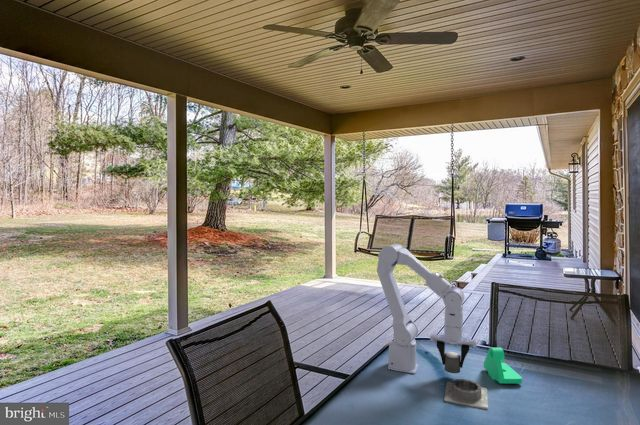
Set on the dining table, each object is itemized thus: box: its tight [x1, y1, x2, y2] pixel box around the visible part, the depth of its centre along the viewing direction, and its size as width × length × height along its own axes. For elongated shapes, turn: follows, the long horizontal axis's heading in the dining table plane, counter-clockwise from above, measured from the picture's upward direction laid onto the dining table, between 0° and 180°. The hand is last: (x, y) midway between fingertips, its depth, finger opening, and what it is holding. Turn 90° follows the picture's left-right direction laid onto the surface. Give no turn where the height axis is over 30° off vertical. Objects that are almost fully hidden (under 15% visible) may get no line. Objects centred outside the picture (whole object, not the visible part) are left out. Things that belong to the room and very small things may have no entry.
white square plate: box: [443, 378, 489, 410], centre depth 118 cm, size 12×12×3 cm
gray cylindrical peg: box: [444, 351, 461, 374], centre depth 130 cm, size 5×5×5 cm
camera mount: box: [483, 347, 523, 384], centre depth 130 cm, size 12×8×10 cm, turn 0°
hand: (452, 365), depth 130 cm, fingers closed on gray cylindrical peg, 5 cm apart
